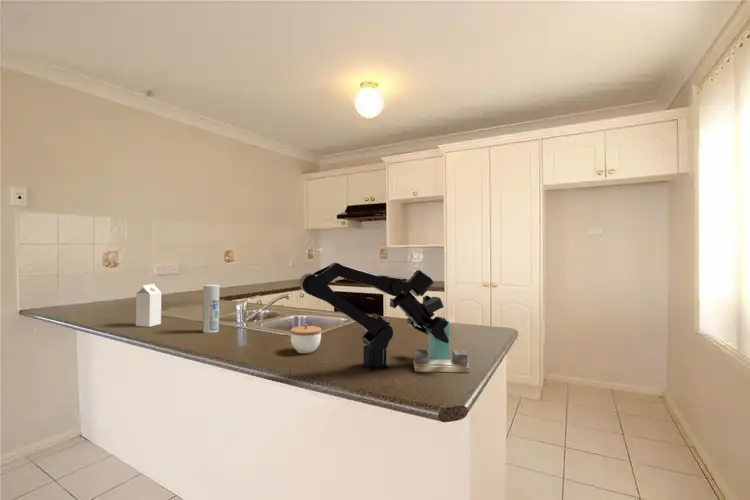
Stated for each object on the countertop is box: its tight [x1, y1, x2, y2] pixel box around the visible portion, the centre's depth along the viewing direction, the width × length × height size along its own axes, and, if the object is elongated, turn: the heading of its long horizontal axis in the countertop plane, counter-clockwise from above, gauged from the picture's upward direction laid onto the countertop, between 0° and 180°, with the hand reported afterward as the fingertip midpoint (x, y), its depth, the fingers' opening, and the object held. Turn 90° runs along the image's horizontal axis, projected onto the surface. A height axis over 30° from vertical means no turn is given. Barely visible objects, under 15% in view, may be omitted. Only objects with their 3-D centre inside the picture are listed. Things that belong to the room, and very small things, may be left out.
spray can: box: [202, 284, 221, 334], centre depth 160 cm, size 6×6×20 cm
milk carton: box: [135, 283, 162, 328], centre depth 171 cm, size 7×7×19 cm
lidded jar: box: [290, 323, 322, 354], centre depth 130 cm, size 11×11×9 cm
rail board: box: [412, 348, 471, 374], centre depth 112 cm, size 16×7×5 cm, turn 87°
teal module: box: [427, 320, 450, 360], centre depth 120 cm, size 5×4×13 cm
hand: (442, 339), depth 121 cm, fingers open, 7 cm apart
